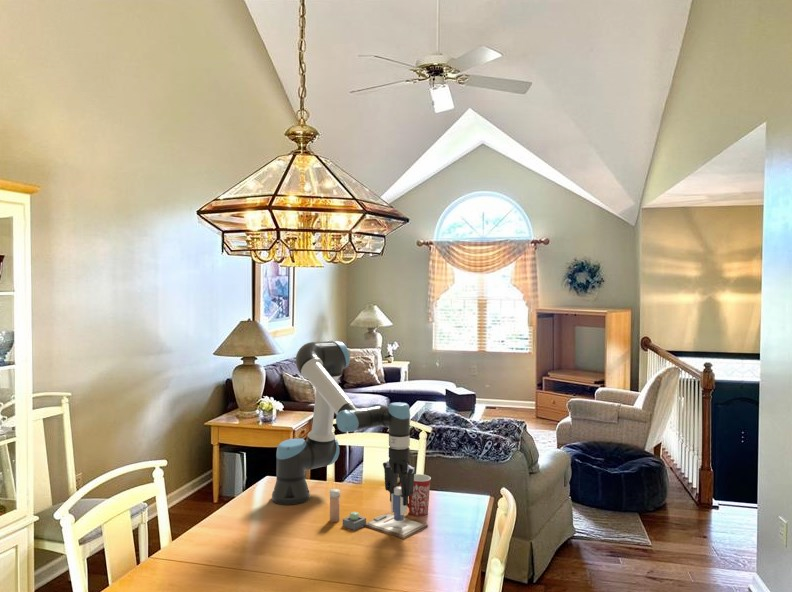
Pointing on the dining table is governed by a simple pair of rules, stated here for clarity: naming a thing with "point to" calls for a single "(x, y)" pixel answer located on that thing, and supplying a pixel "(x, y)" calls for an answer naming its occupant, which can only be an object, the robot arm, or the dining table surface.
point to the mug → (419, 495)
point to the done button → (354, 516)
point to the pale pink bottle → (334, 505)
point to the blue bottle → (397, 504)
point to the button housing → (354, 523)
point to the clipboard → (395, 526)
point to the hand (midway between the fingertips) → (398, 512)
